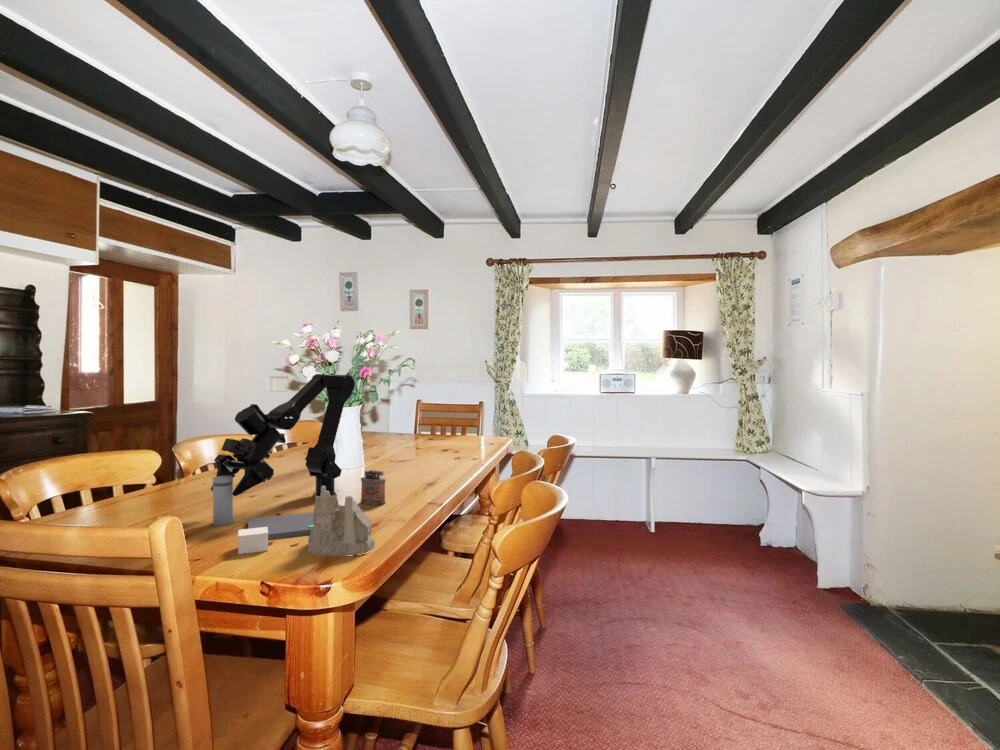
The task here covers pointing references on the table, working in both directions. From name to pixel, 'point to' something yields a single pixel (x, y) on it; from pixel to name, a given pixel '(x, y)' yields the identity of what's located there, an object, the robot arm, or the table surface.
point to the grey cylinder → (222, 500)
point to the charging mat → (272, 530)
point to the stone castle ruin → (339, 527)
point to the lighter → (373, 488)
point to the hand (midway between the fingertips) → (222, 493)
